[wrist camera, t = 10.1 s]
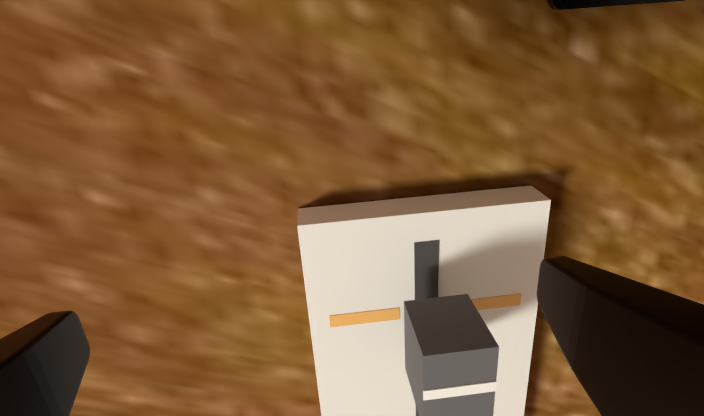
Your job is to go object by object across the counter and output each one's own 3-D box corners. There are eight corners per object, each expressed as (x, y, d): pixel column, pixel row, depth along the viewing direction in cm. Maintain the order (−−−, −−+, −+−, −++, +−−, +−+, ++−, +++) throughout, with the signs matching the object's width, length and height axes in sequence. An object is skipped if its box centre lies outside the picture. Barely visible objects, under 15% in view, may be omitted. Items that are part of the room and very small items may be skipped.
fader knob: (458, 278, 21) (499, 347, 17) (455, 343, 23) (493, 422, 18) (398, 285, 21) (423, 357, 17) (400, 350, 23) (423, 431, 18)
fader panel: (531, 185, 22) (551, 200, 21) (501, 463, 31) (514, 492, 29) (297, 208, 22) (297, 226, 20) (332, 487, 30) (334, 518, 28)
